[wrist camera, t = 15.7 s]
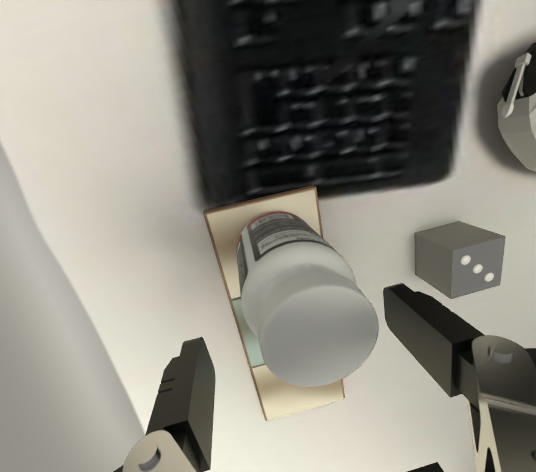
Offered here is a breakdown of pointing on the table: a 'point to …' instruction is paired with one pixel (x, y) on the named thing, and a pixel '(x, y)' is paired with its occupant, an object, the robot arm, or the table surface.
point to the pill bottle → (302, 302)
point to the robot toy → (520, 110)
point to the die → (459, 258)
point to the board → (225, 245)
